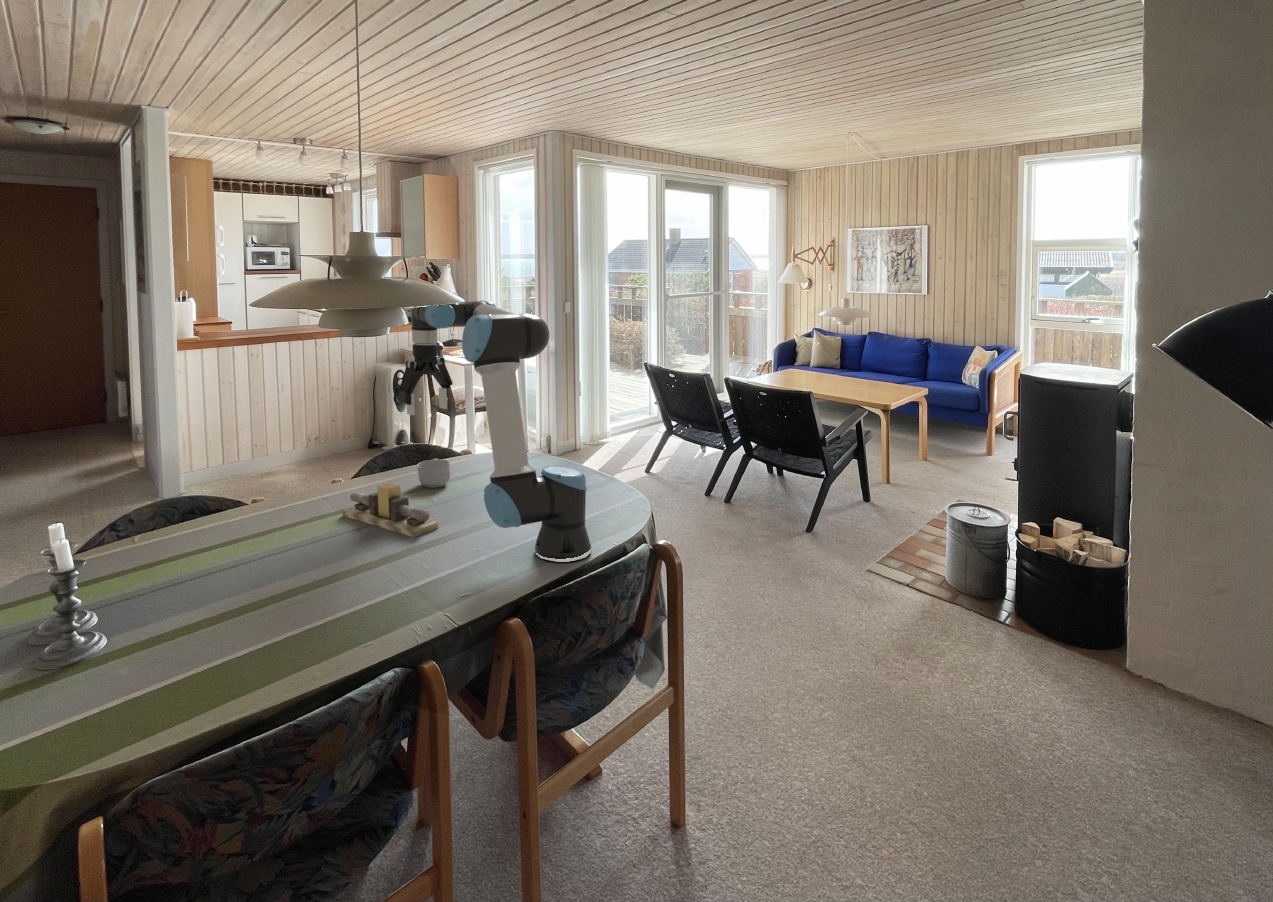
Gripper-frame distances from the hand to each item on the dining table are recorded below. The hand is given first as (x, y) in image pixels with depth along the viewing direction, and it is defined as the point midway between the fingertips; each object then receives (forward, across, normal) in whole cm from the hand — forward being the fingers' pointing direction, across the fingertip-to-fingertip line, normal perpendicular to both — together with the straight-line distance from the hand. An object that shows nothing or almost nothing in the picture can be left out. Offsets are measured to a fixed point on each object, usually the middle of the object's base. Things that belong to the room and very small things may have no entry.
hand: (427, 411), depth 237 cm
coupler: (+26, +23, +7) cm, 36 cm away
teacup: (+29, -12, -10) cm, 33 cm away
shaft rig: (+29, +23, +7) cm, 37 cm away
